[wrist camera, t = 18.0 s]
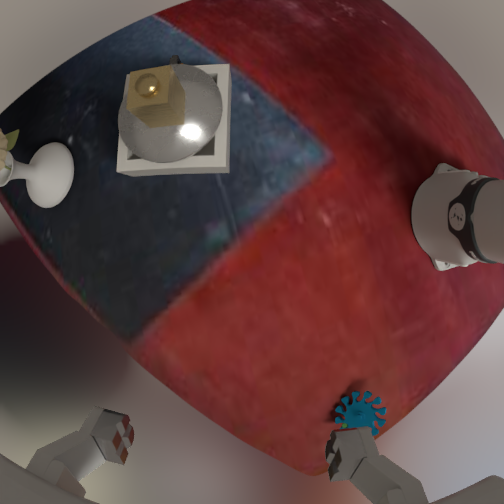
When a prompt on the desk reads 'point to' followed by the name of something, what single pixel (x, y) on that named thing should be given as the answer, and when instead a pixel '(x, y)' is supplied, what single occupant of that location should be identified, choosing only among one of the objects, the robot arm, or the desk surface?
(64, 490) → the robot arm
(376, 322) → the desk surface
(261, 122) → the desk surface
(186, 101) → the scale pan
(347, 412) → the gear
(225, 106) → the base
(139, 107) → the brass weight
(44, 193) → the flower in vase
